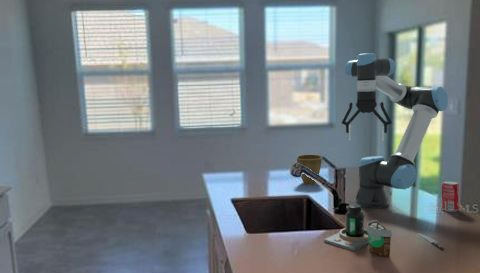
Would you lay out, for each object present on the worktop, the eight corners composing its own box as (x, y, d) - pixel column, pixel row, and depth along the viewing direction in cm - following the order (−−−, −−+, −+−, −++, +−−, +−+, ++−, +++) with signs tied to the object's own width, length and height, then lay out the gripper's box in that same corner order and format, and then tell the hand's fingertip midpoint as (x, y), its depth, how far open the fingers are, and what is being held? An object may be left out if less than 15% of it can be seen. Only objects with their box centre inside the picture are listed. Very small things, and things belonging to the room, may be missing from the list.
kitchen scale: (324, 241, 161) (324, 236, 161) (349, 229, 172) (349, 224, 172) (354, 251, 152) (354, 245, 151) (378, 237, 163) (378, 232, 163)
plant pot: (297, 180, 259) (296, 154, 257) (321, 180, 257) (321, 154, 255) (296, 186, 245) (296, 159, 242) (323, 186, 242) (322, 159, 240)
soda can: (460, 212, 188) (461, 184, 187) (443, 212, 190) (444, 184, 188) (456, 207, 195) (457, 180, 193) (439, 207, 197) (440, 180, 195)
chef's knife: (422, 232, 168) (414, 232, 168) (422, 229, 168) (415, 230, 168) (449, 251, 149) (441, 251, 149) (450, 248, 149) (442, 248, 149)
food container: (360, 246, 156) (360, 220, 154) (376, 245, 156) (377, 219, 155) (373, 260, 143) (374, 232, 142) (391, 259, 144) (391, 230, 143)
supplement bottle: (354, 240, 159) (354, 209, 157) (342, 234, 165) (341, 205, 163) (367, 236, 162) (367, 206, 160) (355, 231, 168) (355, 202, 166)
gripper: (335, 91, 178) (335, 141, 180) (398, 90, 170) (397, 142, 173) (336, 91, 185) (337, 139, 188) (397, 89, 177) (396, 139, 180)
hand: (366, 140), depth 180 cm, fingers open, 13 cm apart
